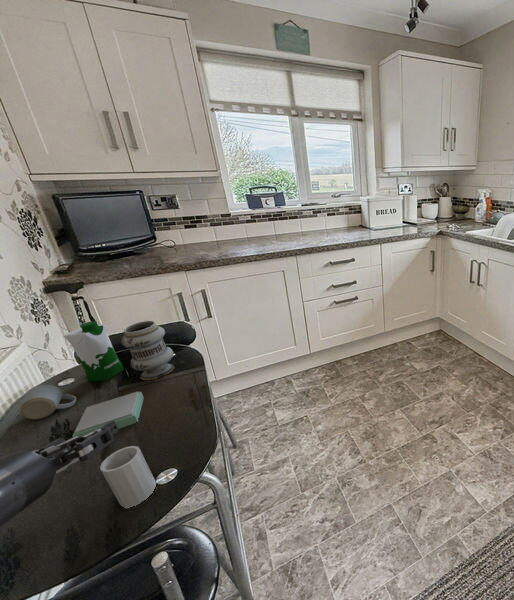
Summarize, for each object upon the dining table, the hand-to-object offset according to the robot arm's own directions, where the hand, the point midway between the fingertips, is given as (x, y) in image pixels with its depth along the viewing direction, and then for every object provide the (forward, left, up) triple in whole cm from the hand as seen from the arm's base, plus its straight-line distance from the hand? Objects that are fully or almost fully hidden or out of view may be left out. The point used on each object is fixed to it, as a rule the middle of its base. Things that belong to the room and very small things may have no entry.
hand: (89, 434), depth 58 cm
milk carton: (-16, +71, -20) cm, 75 cm away
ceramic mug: (-26, +56, -20) cm, 65 cm away
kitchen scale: (-9, +39, -19) cm, 44 cm away
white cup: (+1, +4, -19) cm, 20 cm away
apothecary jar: (0, +61, -20) cm, 64 cm away
